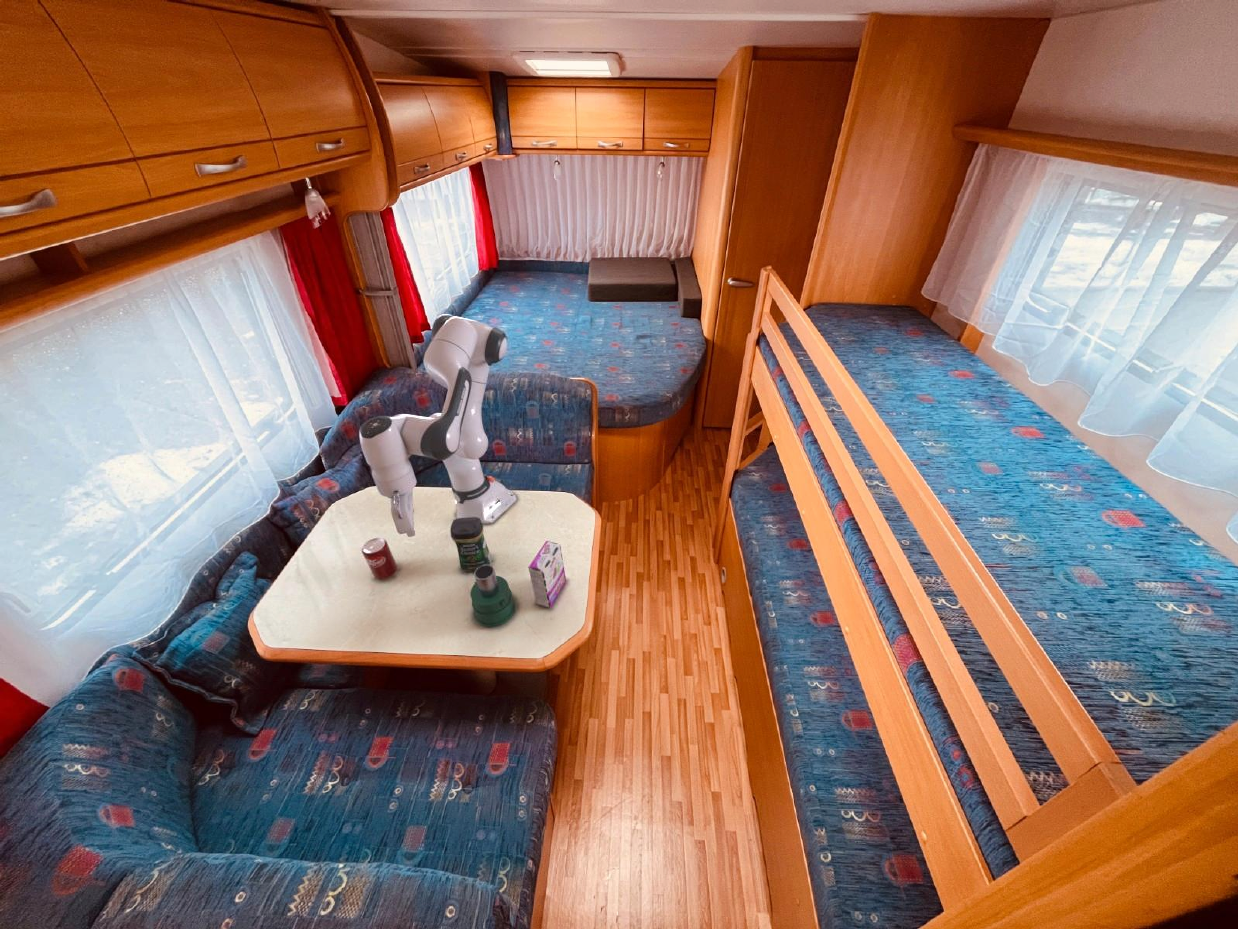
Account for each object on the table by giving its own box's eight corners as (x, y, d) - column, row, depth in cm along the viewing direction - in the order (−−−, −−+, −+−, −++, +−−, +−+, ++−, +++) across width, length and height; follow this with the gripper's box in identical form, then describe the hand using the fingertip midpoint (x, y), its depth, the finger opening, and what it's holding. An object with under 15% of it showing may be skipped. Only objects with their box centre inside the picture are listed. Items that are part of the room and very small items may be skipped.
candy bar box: (552, 576, 148) (546, 539, 138) (566, 581, 147) (561, 543, 137) (535, 604, 140) (527, 566, 130) (550, 609, 138) (543, 571, 128)
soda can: (389, 582, 148) (376, 555, 141) (369, 579, 149) (355, 552, 142) (402, 565, 154) (391, 538, 147) (382, 562, 155) (370, 535, 148)
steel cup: (490, 579, 136) (485, 561, 132) (503, 588, 133) (498, 570, 129) (475, 591, 133) (470, 573, 128) (487, 600, 130) (482, 582, 126)
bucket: (497, 587, 145) (492, 567, 140) (524, 606, 139) (519, 586, 134) (465, 613, 138) (458, 593, 133) (492, 635, 132) (486, 615, 126)
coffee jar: (459, 574, 150) (445, 532, 139) (464, 556, 156) (451, 514, 145) (490, 572, 150) (478, 530, 139) (493, 554, 157) (482, 512, 146)
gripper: (410, 502, 107) (425, 546, 115) (408, 456, 123) (422, 497, 131) (380, 509, 106) (398, 553, 114) (382, 461, 121) (398, 503, 129)
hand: (411, 523), depth 122 cm, fingers open, 8 cm apart
